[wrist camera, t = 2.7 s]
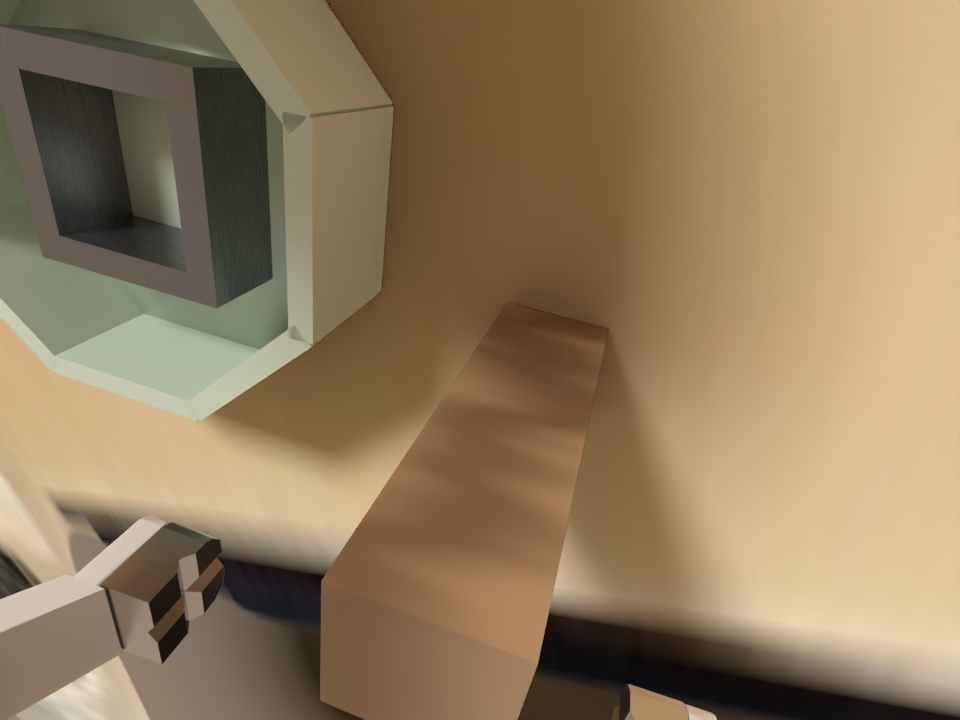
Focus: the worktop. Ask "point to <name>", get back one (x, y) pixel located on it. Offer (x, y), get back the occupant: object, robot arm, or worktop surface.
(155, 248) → the square frame
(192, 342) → the octagonal green tray
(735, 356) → the worktop surface
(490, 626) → the wooden rectangular beam
